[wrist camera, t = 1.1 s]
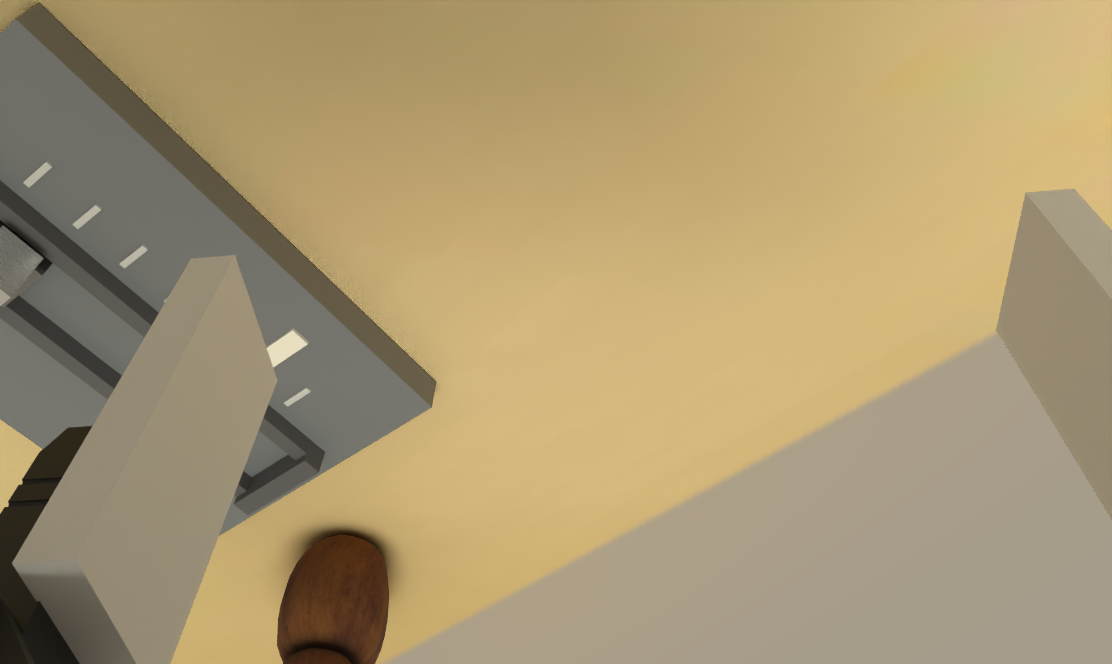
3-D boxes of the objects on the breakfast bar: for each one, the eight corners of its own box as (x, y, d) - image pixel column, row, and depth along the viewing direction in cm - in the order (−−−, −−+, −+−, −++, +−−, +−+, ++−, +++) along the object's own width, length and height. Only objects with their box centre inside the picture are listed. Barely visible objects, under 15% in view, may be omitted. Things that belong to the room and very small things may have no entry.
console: (-198, 237, 45) (-249, 277, 42) (38, 2, 38) (-4, 31, 36) (201, 526, 56) (181, 573, 53) (436, 381, 50) (428, 427, 47)
